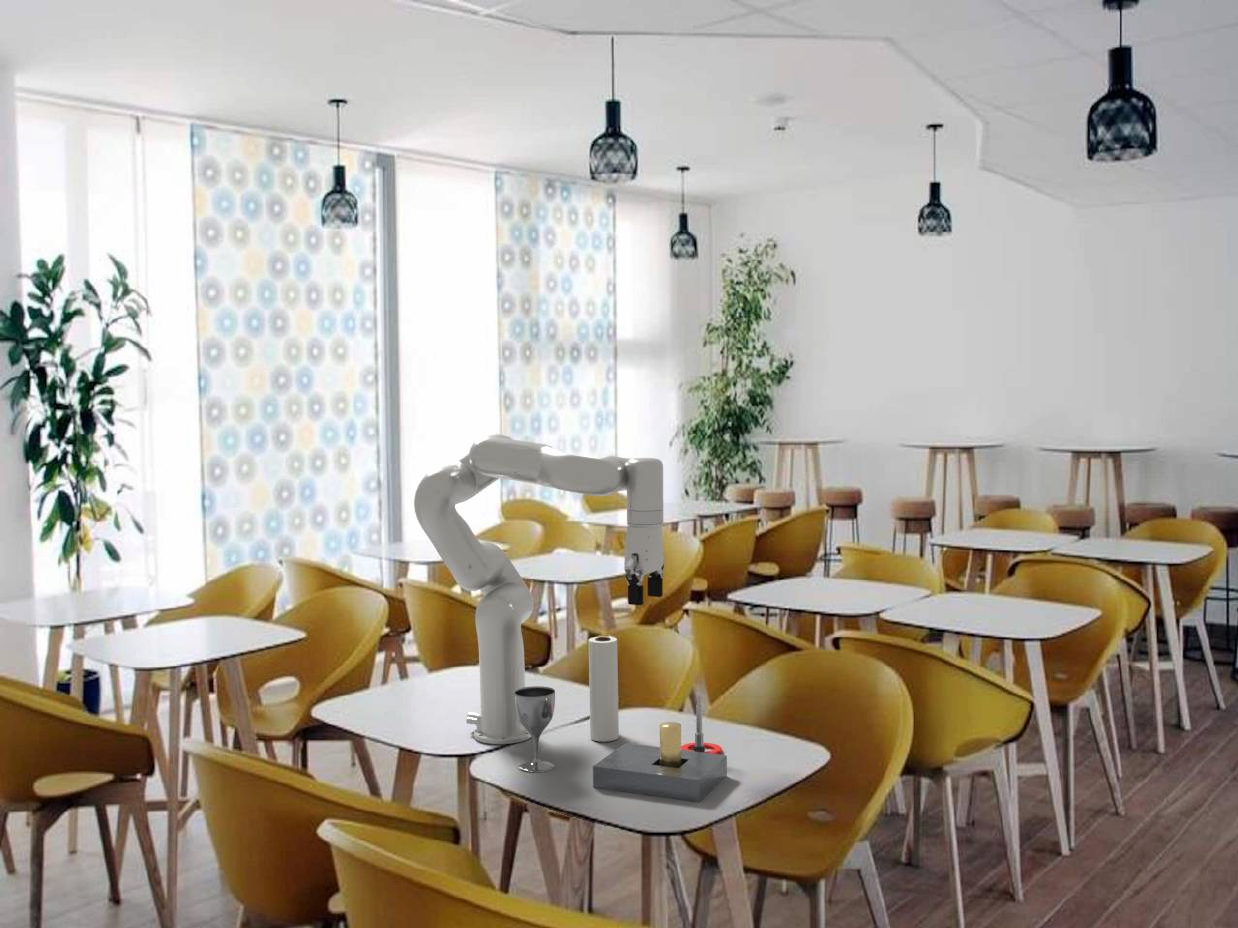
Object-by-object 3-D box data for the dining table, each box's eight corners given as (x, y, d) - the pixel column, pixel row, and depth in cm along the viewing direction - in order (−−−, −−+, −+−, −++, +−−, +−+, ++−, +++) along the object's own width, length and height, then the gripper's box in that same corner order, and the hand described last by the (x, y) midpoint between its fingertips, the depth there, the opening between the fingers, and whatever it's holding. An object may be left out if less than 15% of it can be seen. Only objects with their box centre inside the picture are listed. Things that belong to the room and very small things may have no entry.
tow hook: (682, 747, 244) (677, 759, 235) (682, 685, 244) (677, 694, 235) (723, 748, 243) (720, 760, 234) (723, 686, 242) (720, 696, 233)
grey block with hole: (593, 787, 219) (592, 766, 219) (626, 762, 233) (625, 742, 233) (699, 802, 211) (699, 780, 211) (726, 775, 224) (726, 755, 224)
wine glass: (562, 761, 234) (561, 687, 233) (547, 774, 227) (545, 698, 226) (525, 758, 237) (524, 684, 236) (509, 771, 229) (507, 695, 228)
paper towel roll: (602, 744, 245) (600, 642, 244) (584, 737, 250) (582, 638, 248) (628, 737, 250) (627, 637, 248) (611, 731, 254) (609, 633, 253)
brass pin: (656, 784, 220) (656, 726, 220) (665, 777, 224) (664, 720, 223) (676, 787, 219) (676, 728, 218) (684, 780, 222) (684, 723, 222)
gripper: (645, 512, 252) (646, 592, 253) (610, 522, 237) (611, 606, 238) (678, 514, 249) (678, 594, 250) (644, 523, 233) (644, 609, 235)
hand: (645, 600), depth 244 cm, fingers open, 9 cm apart
